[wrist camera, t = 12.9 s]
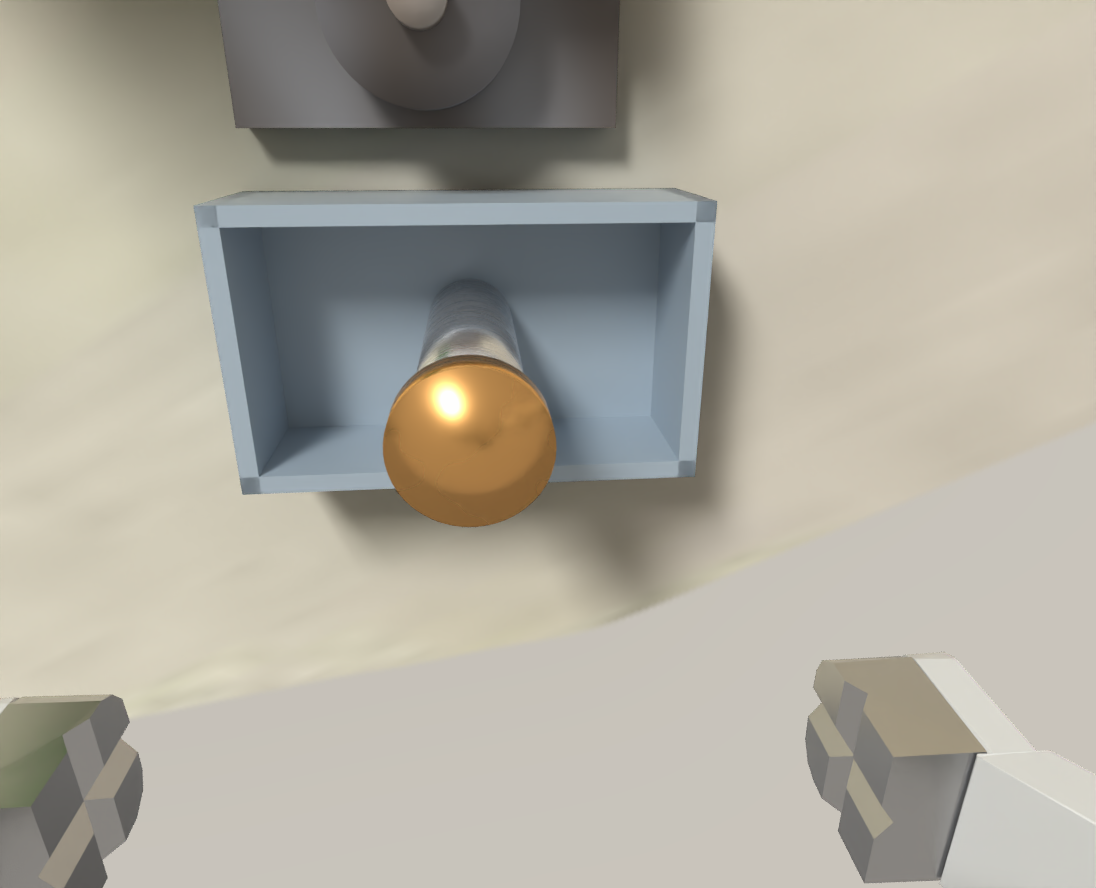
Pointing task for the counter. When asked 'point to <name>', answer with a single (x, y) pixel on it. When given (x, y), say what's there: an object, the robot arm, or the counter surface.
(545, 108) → the bracket
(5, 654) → the counter surface
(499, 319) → the pin
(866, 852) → the robot arm
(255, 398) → the tray
